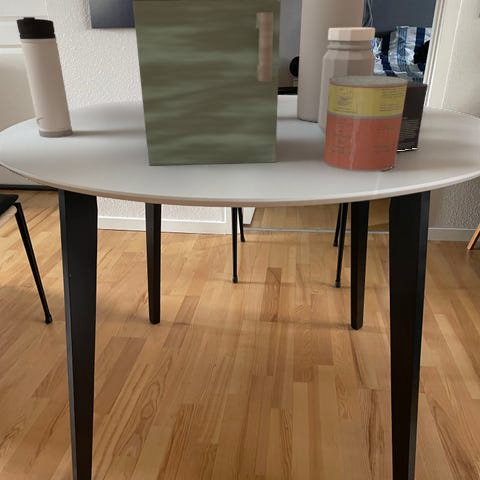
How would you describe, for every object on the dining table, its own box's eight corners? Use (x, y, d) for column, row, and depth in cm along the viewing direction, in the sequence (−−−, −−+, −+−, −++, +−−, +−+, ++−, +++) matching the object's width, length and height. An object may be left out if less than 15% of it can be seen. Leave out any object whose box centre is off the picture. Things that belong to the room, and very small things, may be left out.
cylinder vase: (335, 125, 106) (348, -17, 93) (285, 119, 112) (291, -15, 99) (361, 116, 114) (376, -15, 101) (313, 111, 121) (322, -13, 107)
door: (280, 171, 75) (286, -1, 63) (146, 174, 73) (127, 0, 62) (274, 160, 80) (279, 0, 69) (149, 163, 79) (133, 1, 67)
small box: (353, 141, 93) (359, 78, 87) (382, 138, 95) (391, 77, 89) (386, 153, 84) (396, 85, 79) (418, 150, 86) (430, 83, 81)
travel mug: (35, 138, 96) (9, 17, 85) (45, 131, 101) (22, 17, 91) (67, 138, 96) (46, 17, 86) (76, 131, 102) (56, 16, 91)
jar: (309, 128, 103) (316, 27, 94) (351, 125, 106) (362, 27, 96) (330, 137, 95) (340, 28, 86) (375, 134, 98) (389, 28, 88)
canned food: (378, 153, 85) (389, 74, 78) (407, 170, 75) (422, 83, 69) (314, 155, 83) (320, 76, 77) (334, 174, 74) (343, 85, 67)
